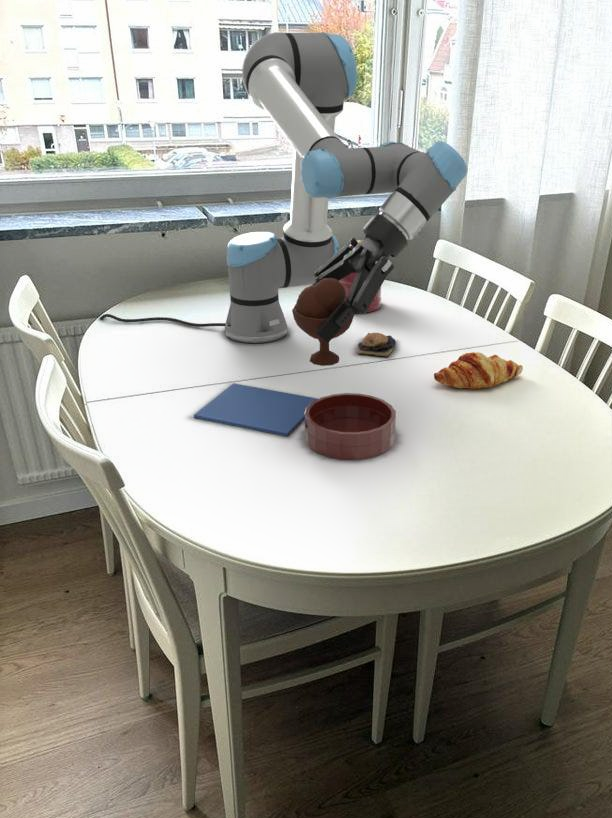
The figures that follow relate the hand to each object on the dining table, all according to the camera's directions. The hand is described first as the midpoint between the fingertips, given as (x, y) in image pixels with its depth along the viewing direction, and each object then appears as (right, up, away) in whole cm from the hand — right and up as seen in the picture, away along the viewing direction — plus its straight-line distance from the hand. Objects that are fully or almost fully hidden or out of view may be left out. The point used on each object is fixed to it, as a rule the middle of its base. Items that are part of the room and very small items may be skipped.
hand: (309, 326), depth 126 cm
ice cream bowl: (+2, -5, +5) cm, 8 cm away
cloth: (-11, -13, +19) cm, 25 cm away
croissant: (+35, -6, +32) cm, 48 cm away
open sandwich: (+13, +5, +48) cm, 50 cm away
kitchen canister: (+8, +21, +74) cm, 77 cm away
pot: (+7, -19, +10) cm, 22 cm away
